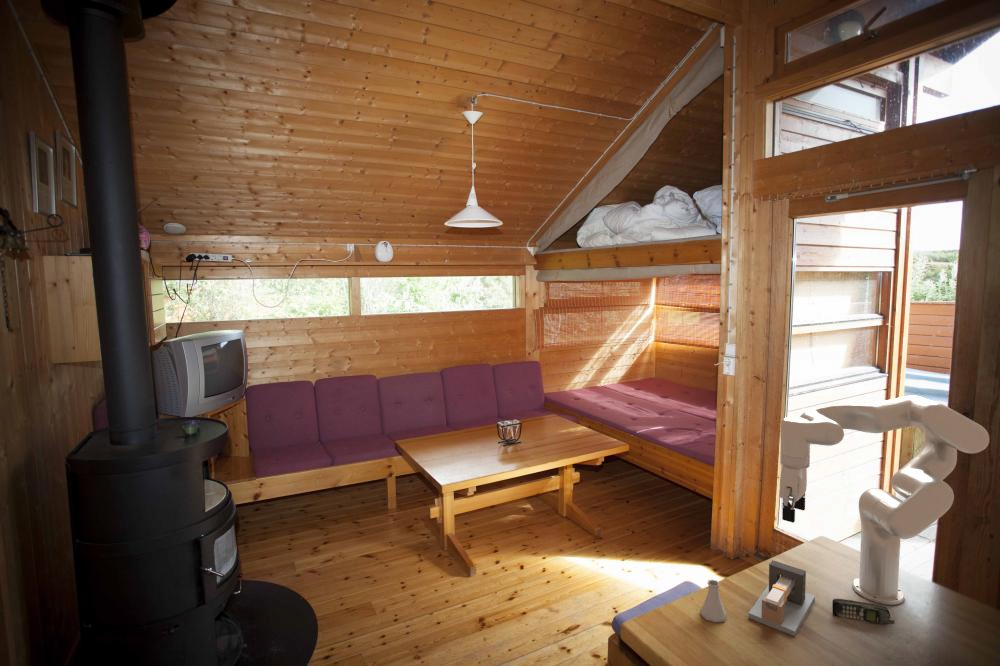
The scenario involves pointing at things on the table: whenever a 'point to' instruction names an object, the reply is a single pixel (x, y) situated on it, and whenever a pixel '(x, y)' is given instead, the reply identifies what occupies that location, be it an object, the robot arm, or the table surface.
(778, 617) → the pipe stand
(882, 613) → the mobile phone
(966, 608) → the table surface
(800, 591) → the collar
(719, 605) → the flask
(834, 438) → the robot arm
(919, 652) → the table surface
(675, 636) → the table surface
